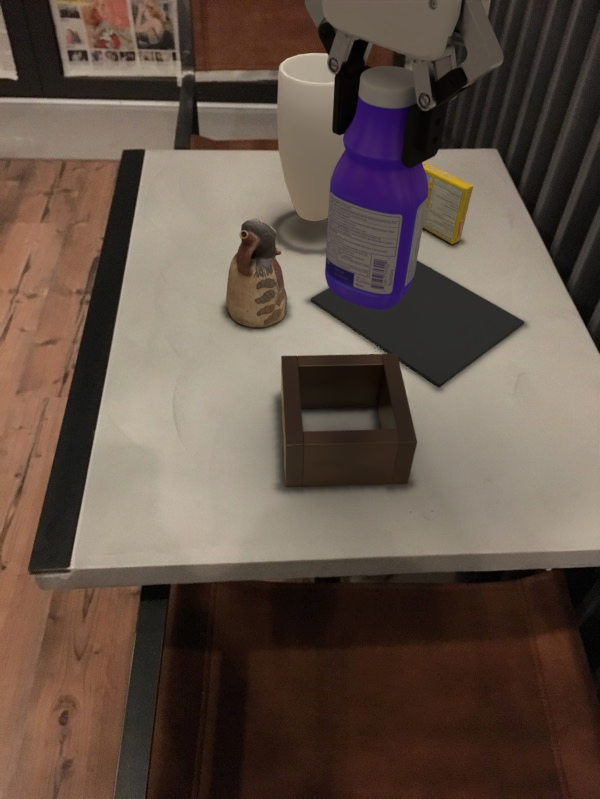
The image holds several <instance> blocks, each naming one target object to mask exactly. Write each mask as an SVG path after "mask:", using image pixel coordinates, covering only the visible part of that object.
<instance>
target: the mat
mask: <svg viewBox="0 0 600 799" xmlns="http://www.w3.org/2000/svg"><path fill="white" fill-rule="evenodd" d="M310 302H312V303H314V304H315V305H316V306H318V307H319V308H321V309H322V310H324V311H325V312H327V313H328V314H330V315H331V316H332V317H334V318H336V319H337V320H338V321H340V322H342V323H343V324H345V325H346V326H348V327H349V328H350V329H352V330H353V331H355V332H356V333H358V334H359V335H361V336H362V337H364V338H365V339H366V340H368V341H370V342H371V343H373V344H374V345H376V346H377V347H378V348H380V349H381V350H383V351H384V352H386V353H387V354H397V355H398V359H399V362H401V363H402V364H404V365H405V366H407V367H408V368H410V369H411V370H413V371H414V372H415V373H417V374H418V375H420V376H422V377H423V378H425V379H426V380H427V381H429V382H430V383H432V384H433V385H435V386H436V387H439V388H440V387H442V386H443V385H444V384H445V383H446V382H448V381H449V380H450V379H452V378H453V377H454V376H456V375H457V374H459V373H460V372H461V371H463V370H464V369H466V367H468V366H469V365H471V364H472V363H473V362H475V361H476V360H477V359H479V358H480V357H481V356H483V355H484V354H486V352H488V351H489V350H491V349H492V348H493V347H495V346H496V345H498V344H499V343H501V341H502V340H505V339H506V338H507V337H508V336H509V335H511V334H513V332H515V331H516V330H517V329H519V328H520V327H522V326H523V325H524V324H525V320H523V319H521V318H519V317H517V316H516V315H514V314H512V313H510V312H508V311H507V310H505V309H503V308H502V307H500V306H498V305H496V304H494V302H491V301H490V300H488V299H486V298H484V297H482V296H481V295H479V294H478V293H475V291H474V292H473V291H472V290H470V289H468V288H467V287H464V286H463V285H461V284H460V283H458V282H456V281H454V280H453V279H451V278H449V277H447V276H445V275H444V274H442V273H440V272H438V271H436V270H435V269H433V268H431V267H430V266H428V265H426V264H424V263H422V262H421V261H419V260H417V263H416V269H415V274H414V277H413V281H412V284H411V287H410V289H409V290H408V291H407V293H406V294H405V295H404V296H403V298H402V299H401V300H400V301H399V303H397V304H396V305H395V306H393V307H391V308H389V309H386V310H374V309H369V308H365V307H362V306H359V305H356V304H353V303H351V302H348V301H346V300H344V299H342V298H340V297H339V296H337V295H336V294H334V293H333V292H332V291H331V290H330V288H329V287H328V288H327V289H325V290H323V291H321V292H320V293H318V294H316V295H314V296H311V298H310Z"/></svg>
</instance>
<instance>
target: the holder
mask: <svg viewBox="0 0 600 799" xmlns="http://www.w3.org/2000/svg"><path fill="white" fill-rule="evenodd" d="M280 405H281V407H280V408H281V426H282V449H283V469H284V470H283V471H284V486H285V487H319V486H351V485H352V486H353V485H384V484H386V485H387V484H388V485H389V484H408V483H409V480H410V475H411V470H412V467H413V462H414V458H415V453H416V449H417V446H418V439H417V436H416V431H415V430H416V429H415V426H414V422H413V417H412V413H411V408H410V404H409V400H408V396H407V391H406V386H405V382H404V378H403V373H402V368H401V365H400V361H399V359H398V355H397V354H389V353H363V354H361V353H360V354H358V353H357V354H313V355H311V354H310V355H309V354H308V355H307V354H306V355H304V354H303V355H281V357H280ZM354 407H355V408H358V407H359V408H361V407H377V412H378V417H379V424H380V428H381V429H348V430H347V429H346V430H345V429H344V430H341V429H340V430H309V431H307V430H305V431H304V426H303V410H302V409H313V408H314V409H319V408H323V409H324V408H354Z"/></svg>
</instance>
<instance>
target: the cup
mask: <svg viewBox="0 0 600 799" xmlns="http://www.w3.org/2000/svg"><path fill="white" fill-rule="evenodd" d="M328 57H329V56H328V54H327V52H326V53H324V52H323V53H322V52H321V53H320V52H311V53H310V52H309V53H301V54H296V55H293V56H290V57H288V58H286V59H284V60H283V61H282V62H281V63H280V64H279V66H278V74H277V76H278V77H277V102H276V104H277V106H276V123H277V125H276V126H277V145H278V147H277V148H278V152H279V160H280V162H281V163H280V164H281V169H282V174H283V178H284V179H283V180H284V183H285V185H286V189H287V192H288V194H289V197H290V201H291V203H292V205H293V207H294V209H295V211H296V213H297V215H298V217H300V218H301V219H303V220H306V221H309V222H310V221H311V222H319V221H324V220H326V219H328V214H329V196H330V181H331V177H332V174H333V171H334V169H335V167H336V165H337V163H338V161H339V159H340V157H341V156H342V154H343V153H344V151H345V147H344V143H343V137H344V134H342V135H337V134H335V133H333V131H332V121H333V101H334V81H335V74H332V73H331V72H330V71H329V69H328V66H327V60H328Z"/></svg>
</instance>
